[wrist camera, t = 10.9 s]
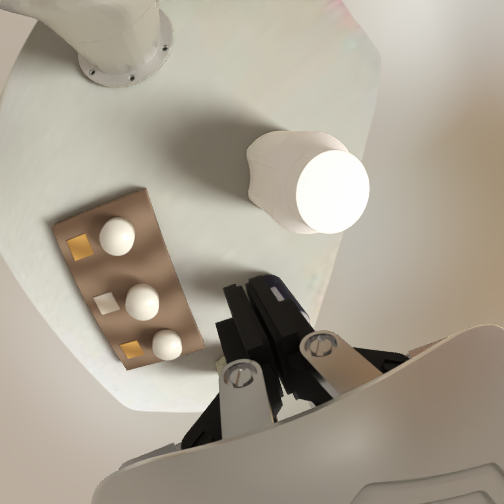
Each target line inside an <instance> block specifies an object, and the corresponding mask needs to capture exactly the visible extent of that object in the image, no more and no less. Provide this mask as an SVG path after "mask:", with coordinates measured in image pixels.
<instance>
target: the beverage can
mask: <svg viewBox="0 0 504 504" xmlns="http://www.w3.org/2000/svg"><path fill="white" fill-rule="evenodd" d="M263 278H264V279H265V281H266V282H267V284H268V286H269V287H270V289H271V290H272V292H273V293H274V295H275V296H276V298H277V299H278V301H282V300H284V299H287V298H291V299H292V301H293V302H294V303H295V305H296V306H297V307H298V309H299V310H300V312H301V313H302V314H303V316H304V317H305V318H306V320H307V321H308V323H309V324H310V319H309V316H308V315H307V313H306V312H305V311H304V309H303V308H302V307H301V305H300V304H299V303H298V301H297V300H296V299H295V297H294V296H293V295H292V293H291V292H290V291H289V289H288V288H287V287H286V285H285V284H284V283H283V281H282V280H281V279H280V278H279V277H277V276H275V275H264V276H263Z"/></svg>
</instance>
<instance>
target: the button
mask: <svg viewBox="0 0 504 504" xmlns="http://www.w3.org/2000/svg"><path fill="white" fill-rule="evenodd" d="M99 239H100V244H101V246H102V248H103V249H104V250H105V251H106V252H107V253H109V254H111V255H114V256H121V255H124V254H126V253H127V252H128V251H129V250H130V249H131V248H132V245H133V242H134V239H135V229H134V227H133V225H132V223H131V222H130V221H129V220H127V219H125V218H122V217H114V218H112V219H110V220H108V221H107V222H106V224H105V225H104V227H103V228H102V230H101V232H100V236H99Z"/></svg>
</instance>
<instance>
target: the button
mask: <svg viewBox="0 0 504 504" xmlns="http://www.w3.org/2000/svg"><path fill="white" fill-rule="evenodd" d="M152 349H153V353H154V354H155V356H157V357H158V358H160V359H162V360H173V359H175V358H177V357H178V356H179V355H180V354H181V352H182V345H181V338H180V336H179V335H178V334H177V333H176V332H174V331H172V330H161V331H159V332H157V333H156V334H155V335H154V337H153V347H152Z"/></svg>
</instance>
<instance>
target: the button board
mask: <svg viewBox="0 0 504 504" xmlns="http://www.w3.org/2000/svg"><path fill="white" fill-rule="evenodd" d="M114 217H122V218H125V219H127V220H129V221H130V222H131V223H132V225H133V227H134V229H135V239H134V242H133V245H132V248H131V249H130V250H129V251H128V252H127V253H126V254H124V255H121V256H114V255H111V254H109V253H107V252H106V251H105V250H104V249H103V248H102V246H101V244H100V239H99V236H100V232H101V230H102V228H103V227H104V225H105V224H106V222H107V221H108V220H110V219H112V218H114ZM52 230H53V232H54V235H55V237H56V240H57V242H58V244H59V247H60V249H61V251H62V253H63V256H64V258H65V260H66V262H67V265H68V267H69V269H70V271H71V273H72V275H73V277H74V279H75V281H76V283H77V285H78V287H79V289H80V291H81V293H82V295H83V297H84V299H85V301H86V303H87V305H88V306H89V308H90V310H91V312H92V314H93V316H94V317H95V319H96V321H97V323H98V324H99V326H100V328H101V330H102V331H103V333H104V335H105V336H106V338H107V340H108V341H109V343H110V345H111V346H112V348H113V349H114V351H115V353H116V354H117V356H118V357H119V359H120V360H121V362H122V363H123V365H124V366H125V368H126V369H127V370H131V369H135V368H139V367H142V366H146V365H150V364H154V363H157V362H161V361H164V360H162V359H160V358H158V357H157V356H155V354H154V353H153V349H152V347H153V337H154V335H155V334H156V333H157V332H159V331H161V330H172V331H174V332H176V333H177V334H178V335H179V336H180V338H181V345H182V352H181V354H180V355H179V356H182V355H185V354H189V353H192V352H195V351H198V350H202V349H205V346H204V341H203V339H202V336H201V334H200V332H199V329H198V327H197V325H196V322H195V320H194V317H193V315H192V313H191V310H190V308H189V305H188V303H187V300H186V298H185V295H184V293H183V290H182V288H181V285H180V283H179V280H178V277H177V275H176V272H175V269H174V267H173V264H172V261H171V259H170V256H169V253H168V251H167V248H166V245H165V242H164V239H163V237H162V234H161V231H160V228H159V225H158V222H157V219H156V216H155V213H154V210H153V207H152V204H151V201H150V198H149V195H148V192H147V189H146V188H145V189H142V190H140V191H137V192H134V193H131V194H128V195H125V196H123V197H120V198H117V199H115V200H112V201H109V202H107V203H104V204H101V205H99V206H96V207H94V208H91V209H89V210H86V211H84V212H81V213H79V214H76V215H74V216H71V217H69V218H67V219H64V220H62V221H60V222H57V223H56V224H55V225H53V226H52ZM137 284H146V285H149V286H151V287H153V288H154V289H155V290H156V291H157V293H158V296H159V310H158V313H157V314H156V315H155V316H154V317H153V318H152V319H149V320H145V321H142V320H137V319H135V318H133V317H131V316H130V315H129V314H128V312H127V310H126V307H125V303H126V298H127V293H128V291H129V290H130V288H132V287H133V286H135V285H137Z"/></svg>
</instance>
